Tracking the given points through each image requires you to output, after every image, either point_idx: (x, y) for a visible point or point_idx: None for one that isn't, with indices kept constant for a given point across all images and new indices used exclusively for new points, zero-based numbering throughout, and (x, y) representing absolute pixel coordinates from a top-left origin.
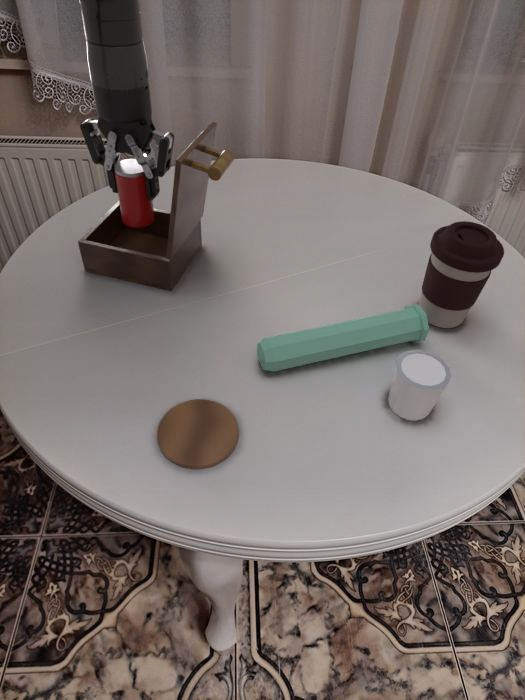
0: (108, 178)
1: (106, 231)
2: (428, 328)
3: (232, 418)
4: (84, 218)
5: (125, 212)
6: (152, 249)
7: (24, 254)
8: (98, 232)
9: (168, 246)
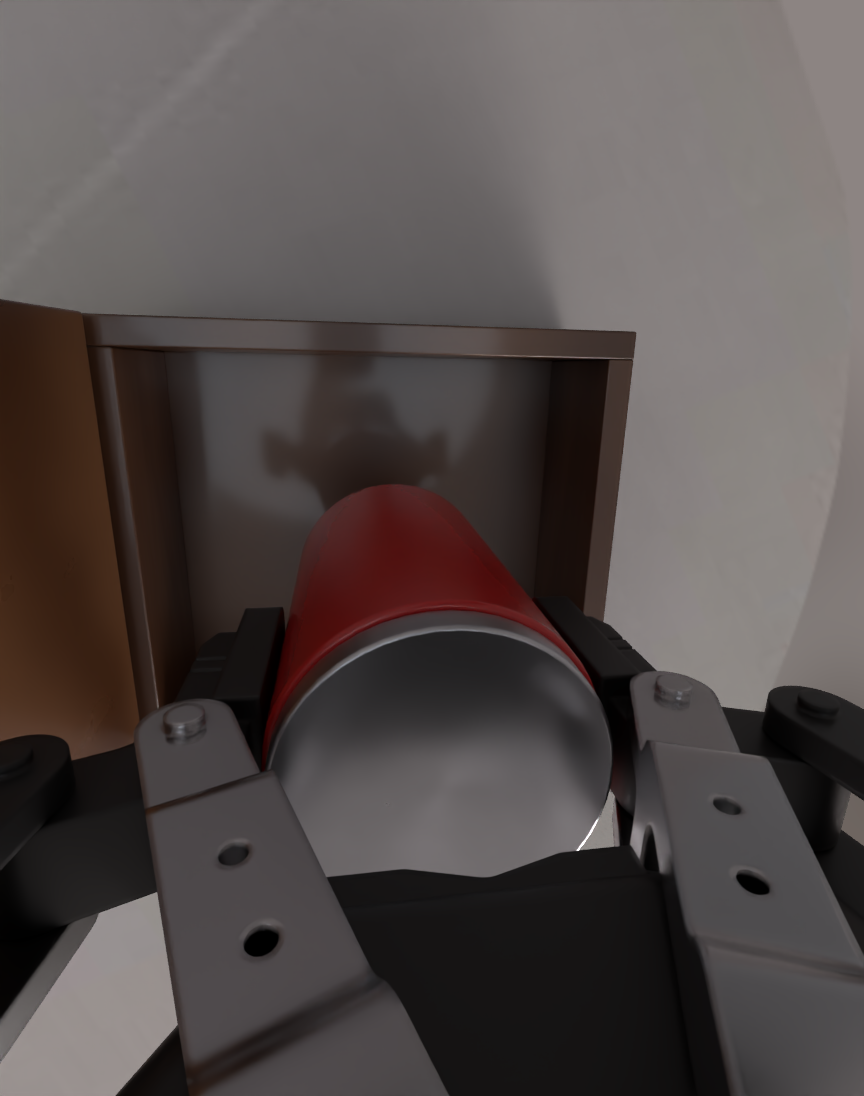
0: (630, 650)
1: (564, 539)
2: None
3: None
4: (705, 660)
5: (430, 506)
6: None
7: (831, 366)
8: (583, 483)
9: (7, 300)
